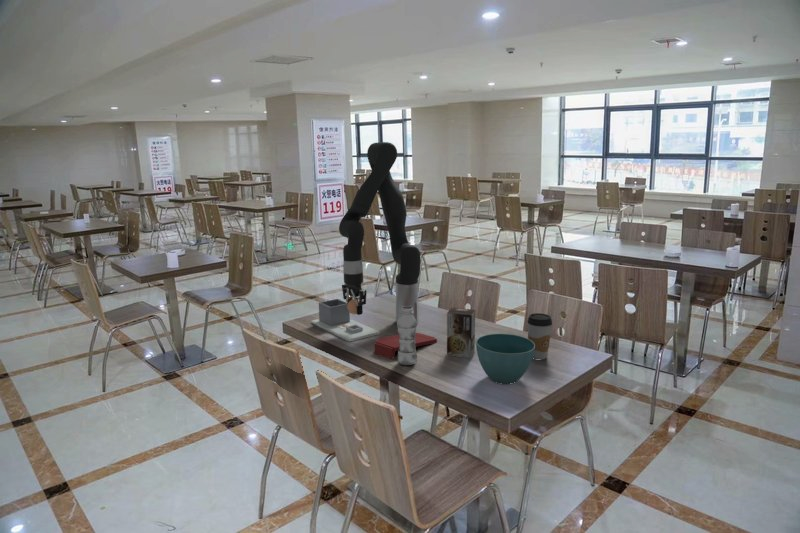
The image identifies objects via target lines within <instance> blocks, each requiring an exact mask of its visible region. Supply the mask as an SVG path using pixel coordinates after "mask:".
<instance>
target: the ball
mask: <svg viewBox="0 0 800 533" xmlns="http://www.w3.org/2000/svg"><path fill="white" fill-rule="evenodd" d="M358 302H359V300H358ZM347 309H348V311H349V312H350V314H351V315H357V305H356V301H355V300H354V298H353V299H352V300H350V301H349V302H348V305H347Z"/></svg>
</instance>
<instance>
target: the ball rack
mask: <svg viewBox="0 0 800 533" xmlns="http://www.w3.org/2000/svg"><path fill="white" fill-rule="evenodd" d="M350 314H351V313H350V312H349V311H348V309H347V302H346V301H344V300H342V299H339V298H335V299H334V298H333V299H330V300H326V301H319V302H318V317H319V318H317V319H312V320H311V324H313V325H314V326H317V327H319V328H321V329H323V330H324V331H326V332H329V333H330V334H332V335H334V336H336V337H339V338H341V339H343V340H344V341H347V342H354V341H357V340H362V339H366V338H369V337H373V336H377V335H380V331H379V330H376V329H374V328H372V327H369V326H367V325H365V324H363V323H360V322H358V321H356V320H354V319H352V318H351V315H350Z"/></svg>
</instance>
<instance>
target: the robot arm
mask: <svg viewBox="0 0 800 533" xmlns="http://www.w3.org/2000/svg"><path fill="white" fill-rule="evenodd" d="M366 155H367V160H368V163H369V166H370V169H371V172H370V173H369V175H368V176H367V178H366V179H365V181H364V182H363V183H362V184H361V185H360V187H359V188H358V190H357V192H356V193H355V196H354V198H353V201H352V203H351V205H350V207H349V208H348V210H347V211H346V212H345V214H344V216H343V217H342V218H341V220H340V223H339V226H338V231H339V232H338V233H340V235H341V236H342V237H344V238H348V239H347V244H345V245H344V246H343V248H342V253H343V254H342V255H343V263H342V264H343V265H342V268H343V269H342V270H343V271H342V272H343V283H344V284H342V285H341V290H342V295H343V296H342V298H343V300H345V302H347V305H348V302H349V301H350V300H352V299H354V300H355V301H356V305H357V314H356V315H358V316H360V315H361V316H362V315H363V306H364V305H367V292H368V291H367V289H363V288H362V283H364V268H363V267H364V266H363V258H362V248H363V244H364V238H365V229H364V224H362V222H360V220H361V219H362V218H365V217H367V215H368V214H369V212H370V209H371V207H372V205H373V202H374V201H375V197H376V195H377V194H378V195H379V199H380V205H381V208H382V213H383V215H384V220H385V223H386V228H387V232H388V235H389V240H390V247H391V248H390V249H391V254H392V258H393V260H394V262H395V263H396V264H398V265H399V266H400V267H399V268H400V269H399V273H398V274H397V275H396V276H395V322H396V324H397V322H398V319H399V318H400V316H401V315H402V313H401V311H402V307H404V306H410V307H413V313H412V315H413V316H414V318H415V319H416V322H417V324H418V322H419V277H420V274H421V252H420V250H419V248H418V247H417V246H416V245H413V244H410V243H409V240H408V237H407V234H406V221H407V207H406V203H405V199H404V196H403V193H402V192H401V190H400V188H399V186H398V185H397V184H396V182H395V181H394V178H393V176H392V174H391V169H392V167H393V166H394V164H395V163H396V160H397V158H398V150H397V147H396V146H395V145H394V144H393V143H392V142H390V141H389V142H387V141H382V142H381V141H380V142H379V141H378V142H373V143H371V144H370V145H369V146H368V148H367V154H366ZM358 300H359V302H358Z"/></svg>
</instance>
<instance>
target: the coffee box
mask: <svg viewBox="0 0 800 533" xmlns="http://www.w3.org/2000/svg"><path fill="white" fill-rule="evenodd" d="M475 347H476V309H470V308H457V307H450V309H448V312H446V356H447V355H448V356H447V357H455V356H456V357H458V358H467V359H472V358H473V357H474V355H475V353H476V352H475Z"/></svg>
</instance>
